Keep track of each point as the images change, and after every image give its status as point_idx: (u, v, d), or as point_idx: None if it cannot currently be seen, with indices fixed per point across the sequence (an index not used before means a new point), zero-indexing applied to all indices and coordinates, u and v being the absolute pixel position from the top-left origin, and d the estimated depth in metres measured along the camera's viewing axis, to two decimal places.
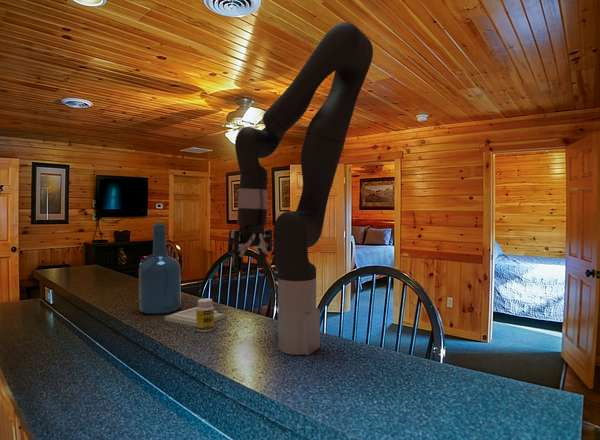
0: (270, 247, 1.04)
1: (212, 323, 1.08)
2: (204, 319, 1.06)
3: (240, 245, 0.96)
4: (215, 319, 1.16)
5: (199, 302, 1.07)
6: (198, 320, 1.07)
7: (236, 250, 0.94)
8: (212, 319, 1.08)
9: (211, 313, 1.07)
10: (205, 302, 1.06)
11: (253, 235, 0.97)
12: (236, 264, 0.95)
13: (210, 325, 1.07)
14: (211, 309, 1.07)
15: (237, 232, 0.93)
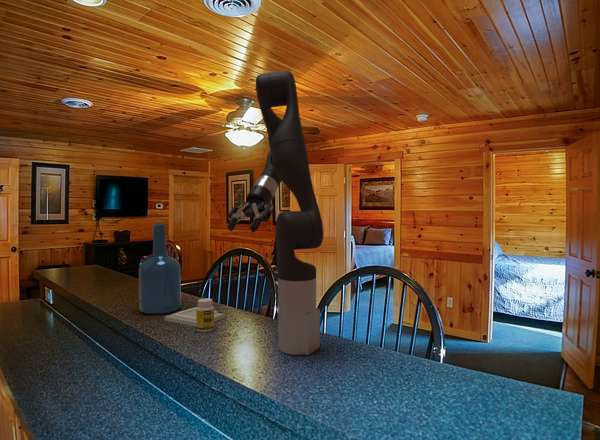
0: (264, 213, 1.15)
1: (212, 323, 1.08)
2: (204, 319, 1.06)
3: None
4: (215, 319, 1.16)
5: (199, 302, 1.07)
6: (198, 320, 1.07)
7: (230, 213, 1.22)
8: (212, 319, 1.08)
9: (211, 313, 1.07)
10: (205, 302, 1.06)
11: (247, 203, 1.21)
12: None
13: (210, 325, 1.07)
14: (211, 309, 1.07)
15: (236, 203, 1.24)
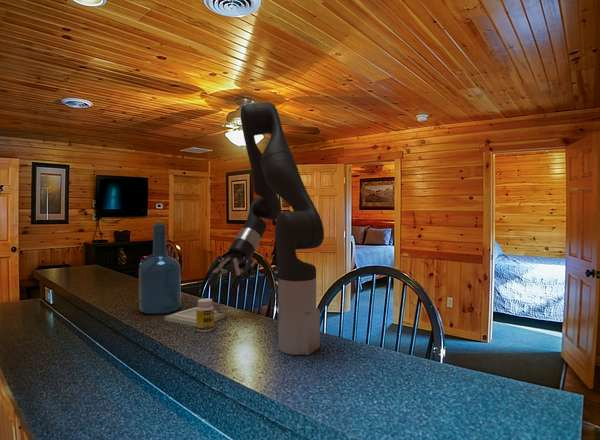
0: (244, 271, 1.13)
1: (212, 323, 1.08)
2: (204, 319, 1.06)
3: None
4: (215, 319, 1.16)
5: (199, 302, 1.07)
6: (198, 320, 1.07)
7: (211, 267, 1.20)
8: (212, 319, 1.08)
9: (211, 313, 1.07)
10: (205, 302, 1.06)
11: (228, 258, 1.19)
12: None
13: (210, 325, 1.07)
14: (211, 309, 1.07)
15: (218, 256, 1.22)
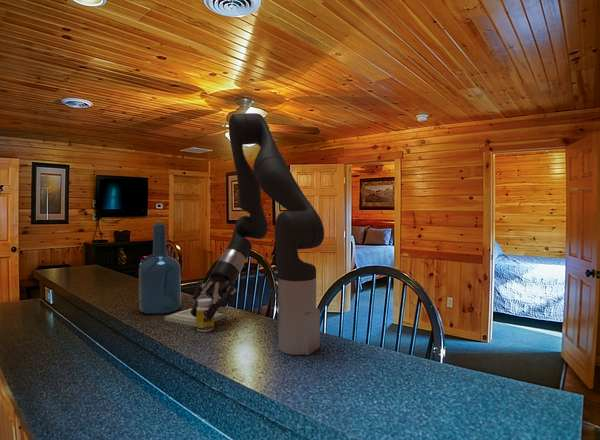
0: (221, 299, 1.07)
1: (212, 323, 1.08)
2: (204, 319, 1.06)
3: None
4: (215, 319, 1.16)
5: (199, 302, 1.07)
6: (198, 320, 1.07)
7: (195, 295, 1.12)
8: (212, 319, 1.08)
9: None
10: (205, 302, 1.06)
11: (210, 282, 1.12)
12: None
13: (210, 325, 1.07)
14: None
15: (198, 283, 1.15)
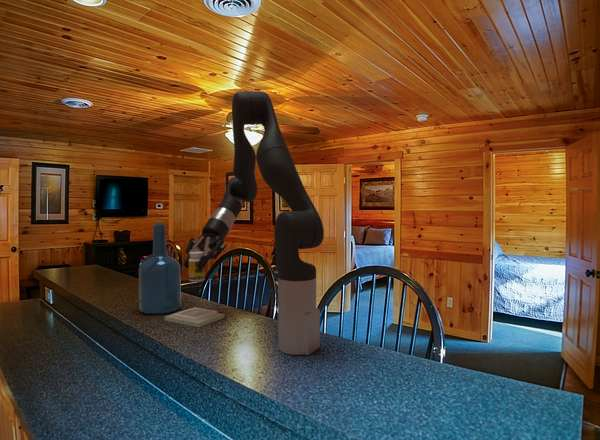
0: (211, 251, 1.14)
1: (203, 274, 1.16)
2: (196, 269, 1.14)
3: None
4: (215, 319, 1.16)
5: (191, 254, 1.14)
6: (190, 270, 1.14)
7: (187, 249, 1.19)
8: (203, 270, 1.15)
9: None
10: (196, 254, 1.14)
11: (201, 237, 1.20)
12: None
13: (201, 275, 1.15)
14: None
15: (191, 238, 1.22)
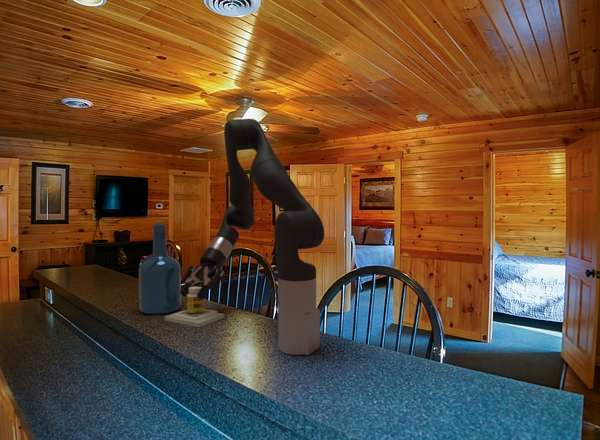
0: (212, 280, 1.17)
1: (201, 309, 1.18)
2: (194, 304, 1.17)
3: None
4: (215, 319, 1.16)
5: (190, 289, 1.17)
6: (188, 306, 1.17)
7: (184, 277, 1.22)
8: (201, 305, 1.18)
9: (200, 299, 1.18)
10: (195, 289, 1.17)
11: (199, 267, 1.22)
12: None
13: (199, 310, 1.17)
14: None
15: (189, 266, 1.25)
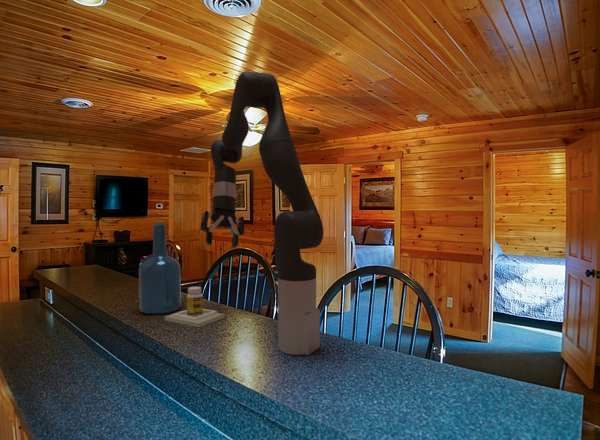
0: (242, 230, 1.28)
1: (201, 309, 1.18)
2: (194, 305, 1.17)
3: (211, 224, 1.23)
4: (215, 319, 1.16)
5: (189, 290, 1.17)
6: (188, 306, 1.17)
7: (205, 225, 1.21)
8: (201, 305, 1.18)
9: (200, 300, 1.18)
10: (195, 290, 1.17)
11: (221, 216, 1.24)
12: (207, 237, 1.21)
13: (199, 311, 1.17)
14: (200, 296, 1.18)
15: (206, 212, 1.22)
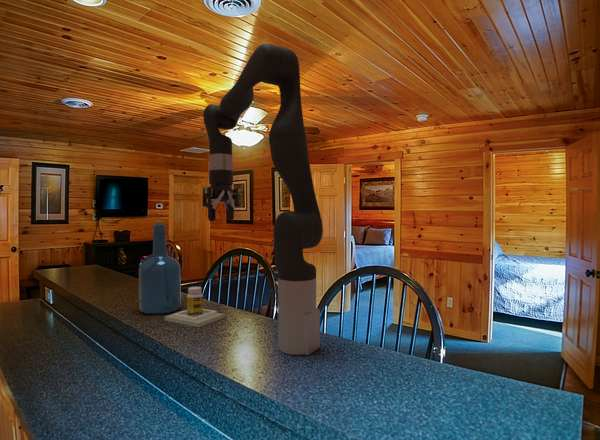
0: (237, 203, 1.28)
1: (201, 309, 1.18)
2: (194, 305, 1.17)
3: (212, 200, 1.19)
4: (215, 319, 1.16)
5: (189, 290, 1.17)
6: (188, 306, 1.17)
7: (209, 203, 1.16)
8: (201, 305, 1.18)
9: (200, 300, 1.18)
10: (195, 290, 1.17)
11: (222, 191, 1.20)
12: (210, 214, 1.18)
13: (199, 311, 1.17)
14: (200, 296, 1.18)
15: (209, 188, 1.16)
